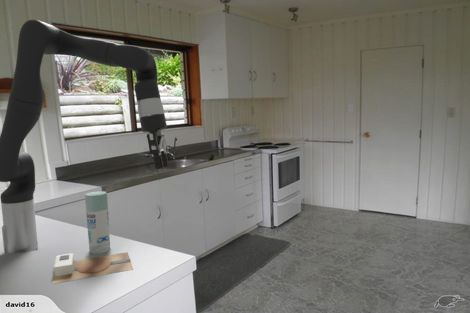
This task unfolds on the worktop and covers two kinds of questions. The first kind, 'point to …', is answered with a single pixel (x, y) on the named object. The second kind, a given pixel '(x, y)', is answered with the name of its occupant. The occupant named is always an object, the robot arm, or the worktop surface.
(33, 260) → the worktop surface
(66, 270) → the block
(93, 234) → the spray paint can
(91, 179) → the worktop surface
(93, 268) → the plywood panel
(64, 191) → the worktop surface
